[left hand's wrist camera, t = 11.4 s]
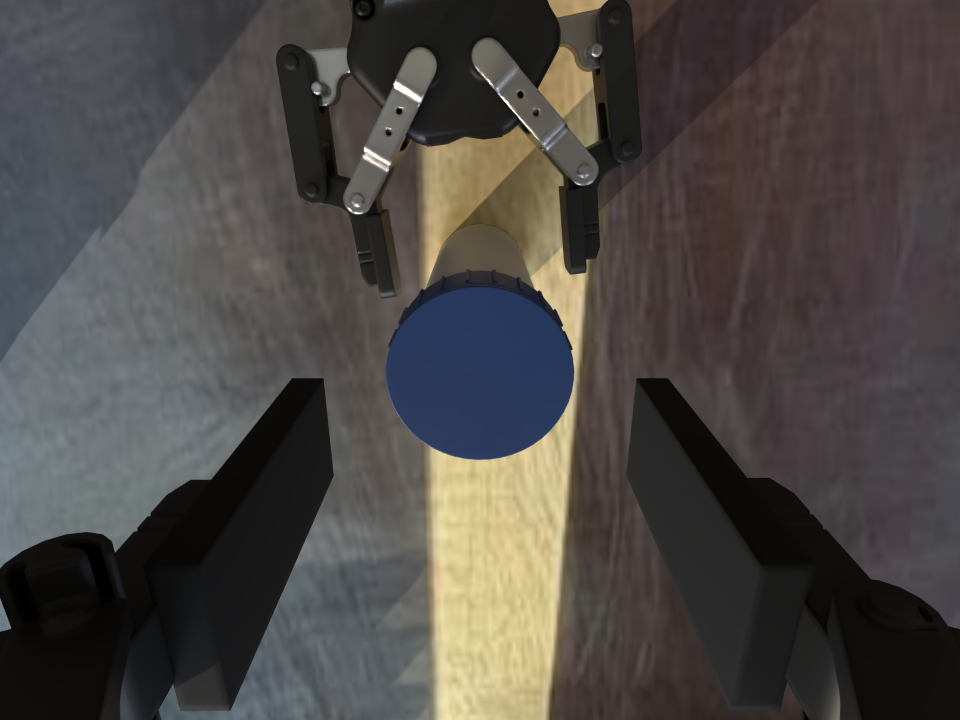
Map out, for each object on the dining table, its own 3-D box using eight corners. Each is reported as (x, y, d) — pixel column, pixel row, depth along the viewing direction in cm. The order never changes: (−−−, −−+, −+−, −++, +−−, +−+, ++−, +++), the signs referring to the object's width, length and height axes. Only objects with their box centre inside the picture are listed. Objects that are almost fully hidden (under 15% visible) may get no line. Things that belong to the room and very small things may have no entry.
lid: (582, 282, 18) (595, 299, 16) (547, 440, 20) (554, 473, 18) (403, 254, 18) (394, 268, 16) (385, 418, 20) (375, 449, 18)
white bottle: (530, 231, 32) (574, 308, 17) (514, 315, 33) (542, 452, 19) (442, 217, 31) (409, 283, 17) (431, 302, 33) (392, 431, 18)
